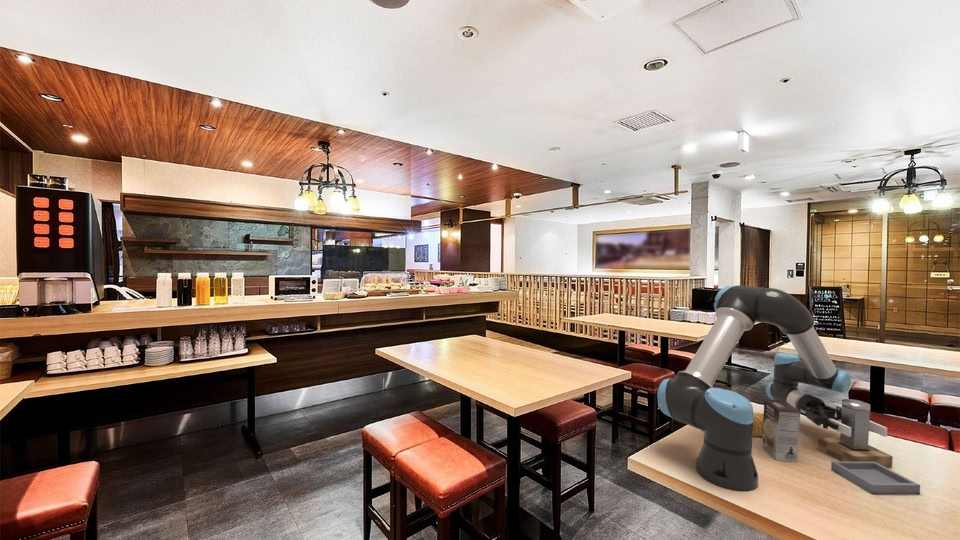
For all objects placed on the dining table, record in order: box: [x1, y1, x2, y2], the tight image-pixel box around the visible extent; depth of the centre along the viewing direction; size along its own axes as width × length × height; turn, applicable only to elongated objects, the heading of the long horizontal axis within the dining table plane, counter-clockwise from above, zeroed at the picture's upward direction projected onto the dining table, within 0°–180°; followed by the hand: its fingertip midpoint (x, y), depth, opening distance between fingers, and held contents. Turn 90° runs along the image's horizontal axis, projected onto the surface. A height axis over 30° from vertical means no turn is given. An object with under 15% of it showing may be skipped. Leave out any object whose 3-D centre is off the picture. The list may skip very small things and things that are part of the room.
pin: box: [839, 398, 871, 451], centre depth 124 cm, size 6×6×18 cm
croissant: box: [752, 412, 764, 438], centre depth 142 cm, size 21×10×8 cm, turn 103°
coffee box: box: [761, 399, 801, 463], centre depth 126 cm, size 9×6×16 cm
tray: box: [830, 460, 921, 495], centre depth 111 cm, size 13×12×2 cm
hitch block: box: [817, 437, 894, 469], centre depth 124 cm, size 12×12×4 cm
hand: (867, 432), depth 120 cm, fingers open, 10 cm apart
